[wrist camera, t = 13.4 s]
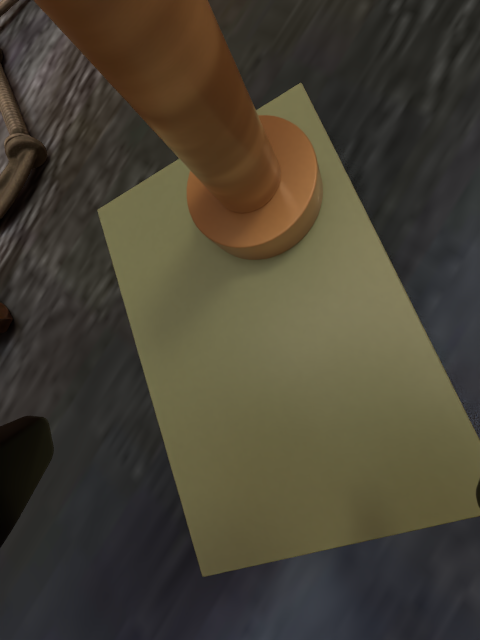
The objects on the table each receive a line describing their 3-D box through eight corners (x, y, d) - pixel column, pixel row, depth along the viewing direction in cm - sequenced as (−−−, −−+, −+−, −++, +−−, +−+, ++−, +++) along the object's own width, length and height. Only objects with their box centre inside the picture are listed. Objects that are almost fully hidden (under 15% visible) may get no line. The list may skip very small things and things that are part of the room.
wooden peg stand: (348, 165, 16) (189, -1653, 2) (280, 281, 16) (-320, -271, 2) (241, 125, 18) (-240, -790, 4) (184, 229, 18) (-437, -219, 4)
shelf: (480, 475, 16) (514, 509, 12) (232, 537, 19) (202, 578, 16) (312, 130, 20) (301, 81, 17) (136, 232, 24) (96, 209, 20)
